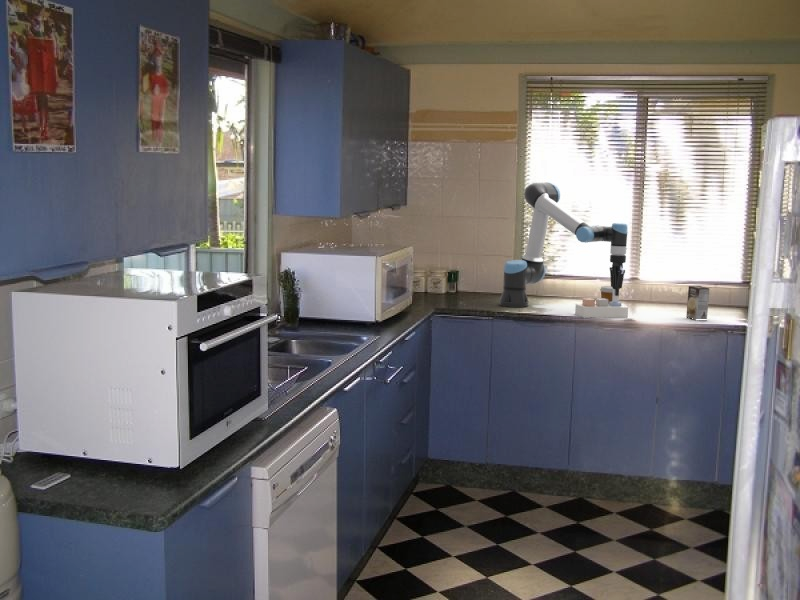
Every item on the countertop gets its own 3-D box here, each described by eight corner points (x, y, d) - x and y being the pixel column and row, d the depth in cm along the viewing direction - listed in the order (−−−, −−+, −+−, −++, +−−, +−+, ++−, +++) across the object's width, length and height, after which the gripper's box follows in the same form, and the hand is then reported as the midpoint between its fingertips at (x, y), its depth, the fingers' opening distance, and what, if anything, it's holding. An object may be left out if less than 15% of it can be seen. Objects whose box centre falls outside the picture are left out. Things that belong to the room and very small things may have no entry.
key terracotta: (582, 310, 453) (582, 298, 452) (590, 310, 454) (591, 298, 453) (585, 311, 448) (586, 299, 448) (594, 311, 449) (595, 299, 449)
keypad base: (575, 313, 456) (575, 304, 455) (617, 313, 461) (618, 303, 460) (583, 317, 445) (584, 307, 444) (627, 317, 450) (628, 307, 449)
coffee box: (685, 317, 454) (687, 285, 452) (696, 317, 456) (699, 285, 453) (696, 320, 445) (698, 288, 443) (707, 320, 447) (710, 288, 445)
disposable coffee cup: (618, 312, 465) (619, 289, 463) (598, 311, 467) (600, 288, 465) (617, 309, 474) (618, 286, 473) (598, 308, 476) (600, 285, 474)
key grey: (595, 310, 454) (595, 298, 453) (603, 310, 455) (604, 298, 454) (599, 311, 450) (599, 299, 449) (607, 311, 451) (608, 299, 450)
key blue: (608, 313, 456) (608, 301, 455) (616, 313, 457) (617, 301, 456) (612, 315, 452) (612, 303, 451) (620, 314, 452) (621, 302, 452)
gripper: (631, 255, 444) (628, 303, 448) (619, 253, 457) (616, 300, 460) (616, 255, 443) (613, 303, 446) (605, 253, 455) (602, 300, 459)
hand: (615, 301), depth 453 cm, fingers closed
